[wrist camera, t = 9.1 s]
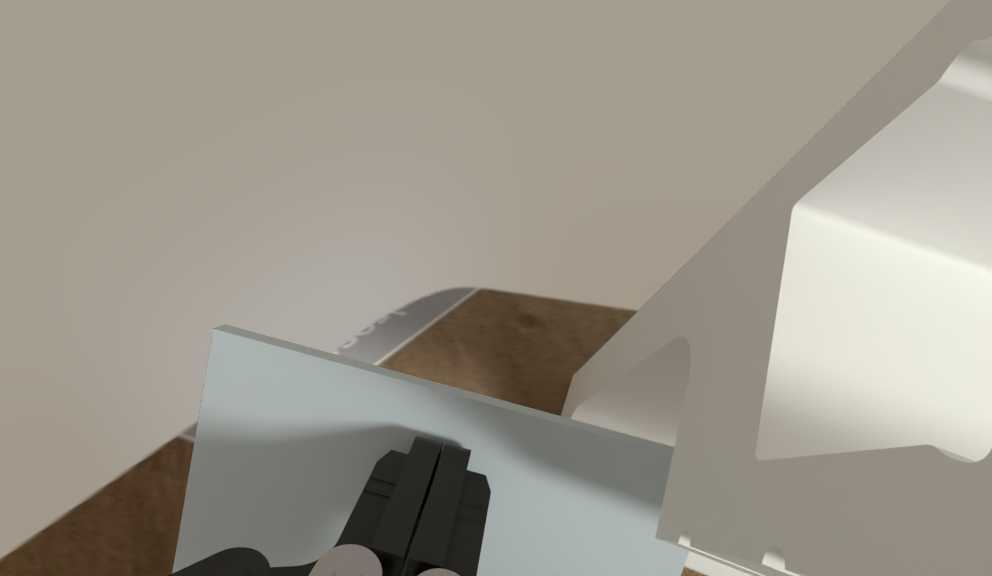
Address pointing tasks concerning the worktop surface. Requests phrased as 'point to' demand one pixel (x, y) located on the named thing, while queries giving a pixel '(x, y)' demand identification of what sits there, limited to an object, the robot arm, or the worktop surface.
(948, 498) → the white magazine holder
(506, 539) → the carton flap
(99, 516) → the worktop surface
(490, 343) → the worktop surface
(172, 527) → the worktop surface
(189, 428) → the worktop surface
